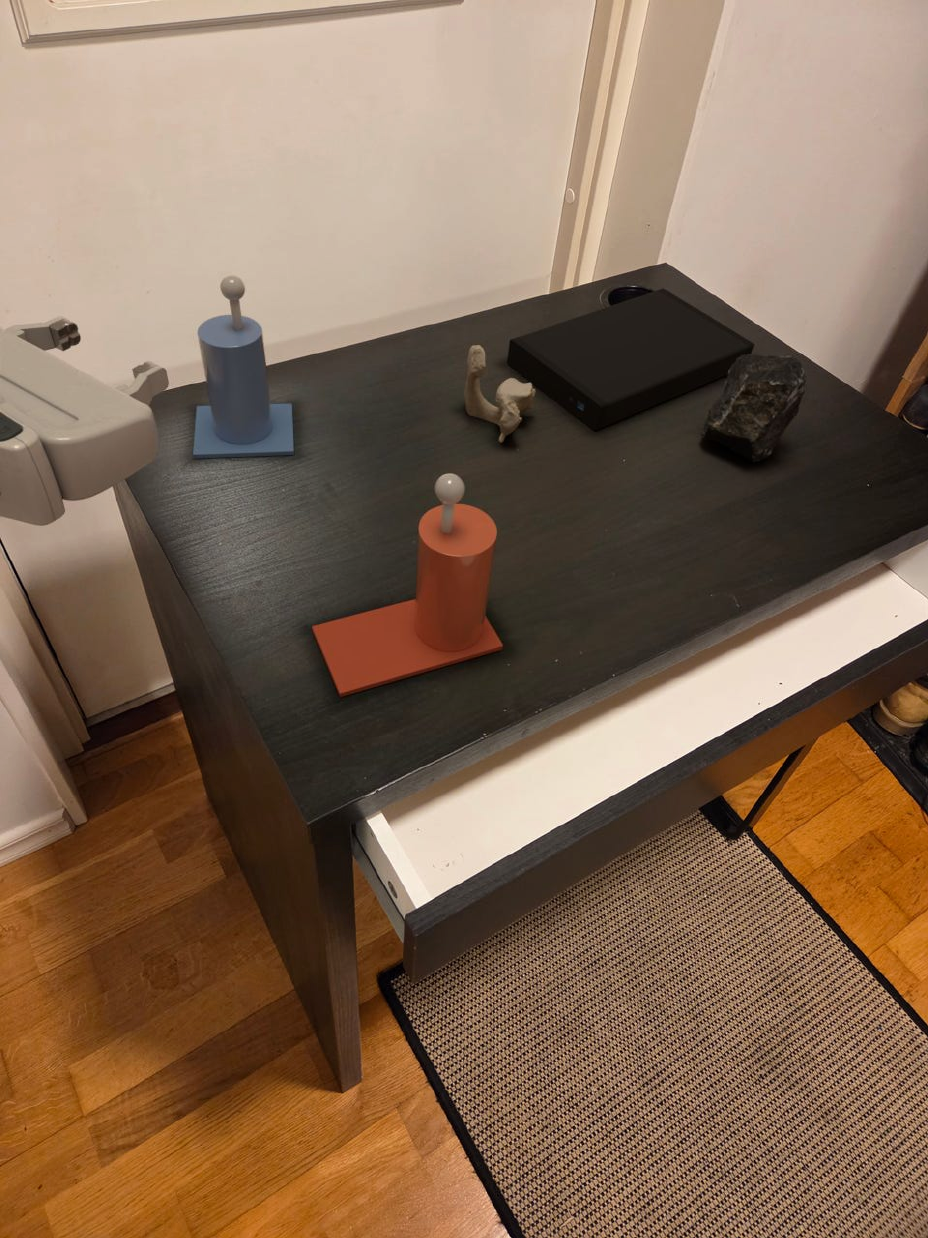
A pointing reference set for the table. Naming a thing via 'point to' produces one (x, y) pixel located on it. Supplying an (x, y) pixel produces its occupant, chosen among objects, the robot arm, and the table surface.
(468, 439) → the table surface
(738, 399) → the rock
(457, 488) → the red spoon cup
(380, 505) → the table surface
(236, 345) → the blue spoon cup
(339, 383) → the table surface
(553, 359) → the external hard drive
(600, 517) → the table surface
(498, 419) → the bone
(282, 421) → the blue mat
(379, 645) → the red mat
